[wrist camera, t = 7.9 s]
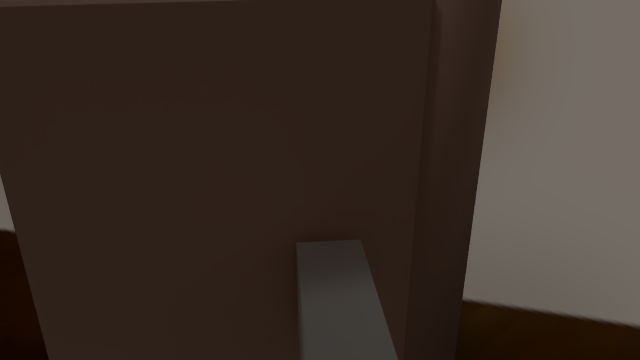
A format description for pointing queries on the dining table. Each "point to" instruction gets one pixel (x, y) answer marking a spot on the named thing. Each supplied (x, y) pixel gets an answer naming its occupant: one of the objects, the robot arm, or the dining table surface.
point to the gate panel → (239, 165)
